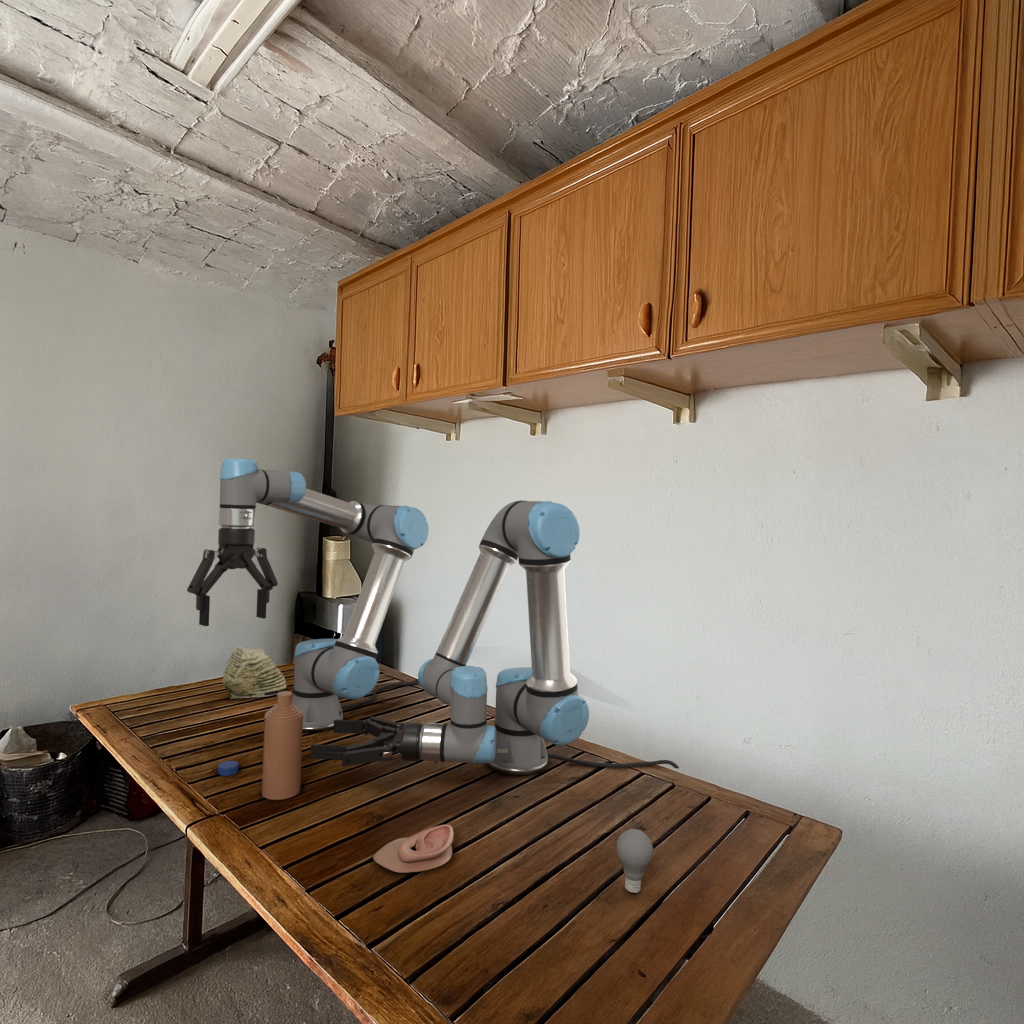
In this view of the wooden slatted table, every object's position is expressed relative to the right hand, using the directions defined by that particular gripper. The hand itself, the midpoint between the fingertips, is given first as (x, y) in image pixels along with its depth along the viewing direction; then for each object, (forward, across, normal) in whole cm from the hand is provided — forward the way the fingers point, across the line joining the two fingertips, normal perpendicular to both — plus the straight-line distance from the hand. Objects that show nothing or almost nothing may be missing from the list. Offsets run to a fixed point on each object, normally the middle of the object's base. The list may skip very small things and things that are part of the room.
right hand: (323, 738), depth 134 cm
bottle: (+9, 0, -12) cm, 15 cm away
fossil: (+44, +61, -12) cm, 76 cm away
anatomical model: (-24, -20, -12) cm, 34 cm away
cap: (+25, +8, -10) cm, 28 cm away
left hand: (+24, +8, +23) cm, 34 cm away
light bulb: (-62, -25, -14) cm, 68 cm away
